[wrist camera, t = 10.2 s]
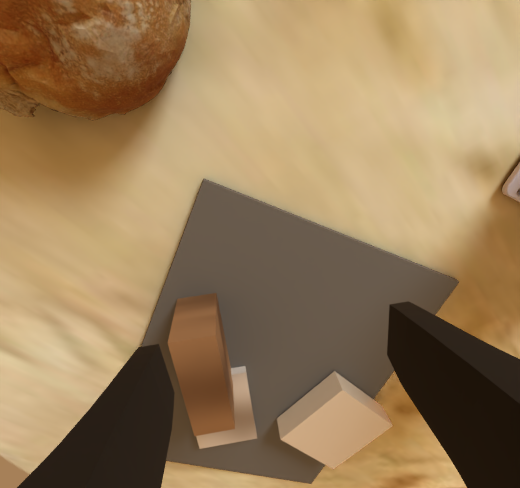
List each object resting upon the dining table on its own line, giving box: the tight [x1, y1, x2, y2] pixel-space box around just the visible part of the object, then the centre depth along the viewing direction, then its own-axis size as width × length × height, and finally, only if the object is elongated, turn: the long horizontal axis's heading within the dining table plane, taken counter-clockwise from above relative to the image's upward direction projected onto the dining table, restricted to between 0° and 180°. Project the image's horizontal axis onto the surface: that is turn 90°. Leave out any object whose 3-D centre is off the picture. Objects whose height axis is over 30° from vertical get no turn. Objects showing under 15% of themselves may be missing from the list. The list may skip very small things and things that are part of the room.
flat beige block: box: [277, 371, 393, 469], centre depth 24 cm, size 2×6×6 cm
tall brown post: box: [168, 293, 257, 449], centre depth 21 cm, size 13×4×4 cm, turn 7°
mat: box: [141, 179, 459, 484], centre depth 23 cm, size 18×22×1 cm
